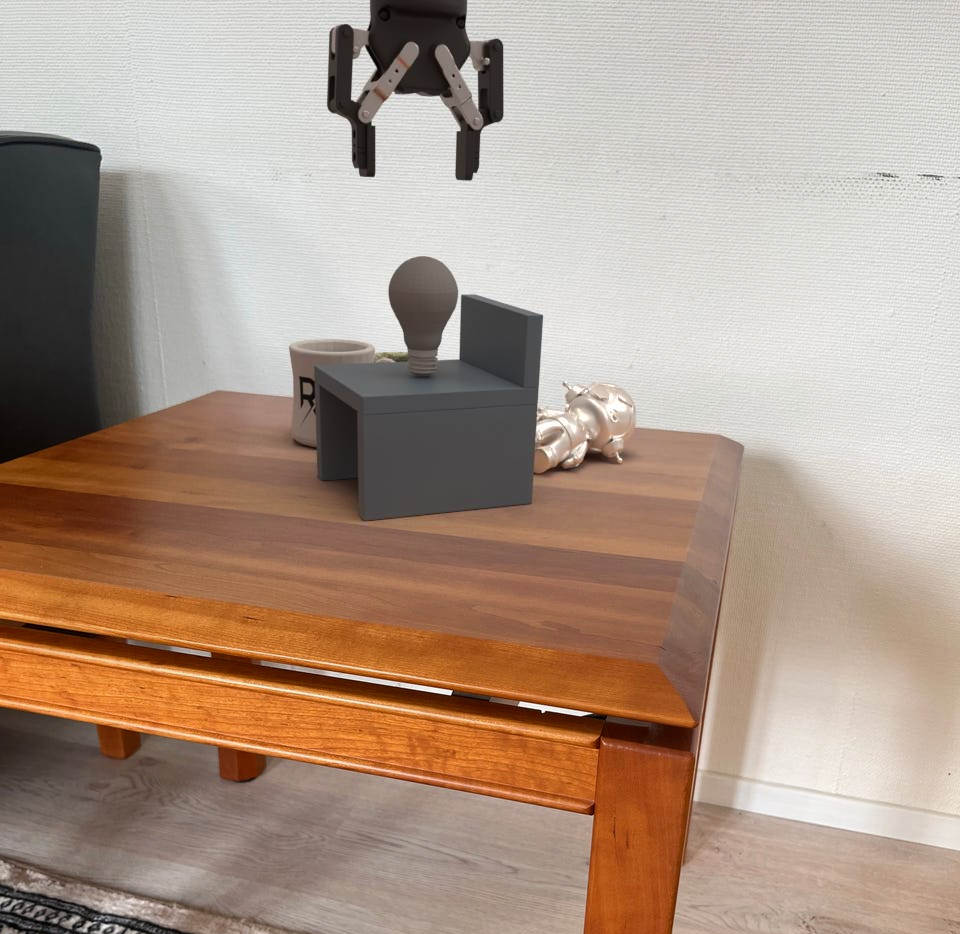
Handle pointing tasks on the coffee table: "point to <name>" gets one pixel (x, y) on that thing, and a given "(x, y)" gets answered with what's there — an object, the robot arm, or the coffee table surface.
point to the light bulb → (423, 308)
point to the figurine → (584, 426)
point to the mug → (304, 380)
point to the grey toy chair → (438, 421)
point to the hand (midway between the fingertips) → (416, 178)
